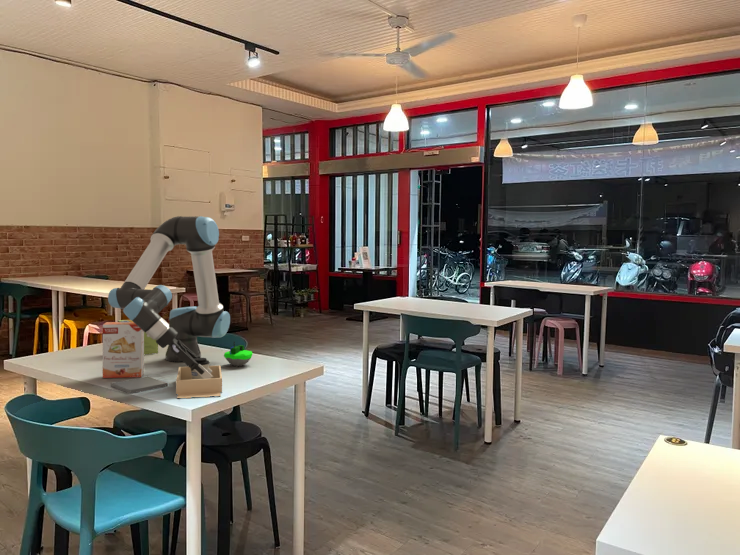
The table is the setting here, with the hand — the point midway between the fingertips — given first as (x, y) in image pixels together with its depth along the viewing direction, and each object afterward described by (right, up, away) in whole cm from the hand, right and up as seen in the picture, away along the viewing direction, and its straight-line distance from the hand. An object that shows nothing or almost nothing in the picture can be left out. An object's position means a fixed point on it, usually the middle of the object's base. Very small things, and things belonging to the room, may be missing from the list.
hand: (209, 376), depth 202 cm
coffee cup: (-3, -4, -1) cm, 5 cm away
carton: (-3, -3, -1) cm, 5 cm away
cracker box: (-36, -2, +11) cm, 38 cm away
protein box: (-49, +1, +55) cm, 74 cm away
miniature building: (+2, -2, +34) cm, 35 cm away
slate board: (-25, -3, -3) cm, 25 cm away
